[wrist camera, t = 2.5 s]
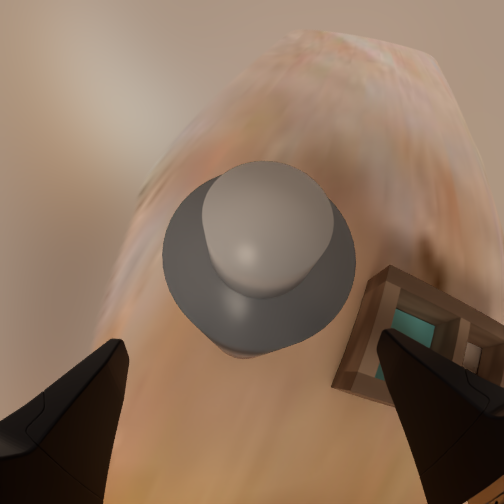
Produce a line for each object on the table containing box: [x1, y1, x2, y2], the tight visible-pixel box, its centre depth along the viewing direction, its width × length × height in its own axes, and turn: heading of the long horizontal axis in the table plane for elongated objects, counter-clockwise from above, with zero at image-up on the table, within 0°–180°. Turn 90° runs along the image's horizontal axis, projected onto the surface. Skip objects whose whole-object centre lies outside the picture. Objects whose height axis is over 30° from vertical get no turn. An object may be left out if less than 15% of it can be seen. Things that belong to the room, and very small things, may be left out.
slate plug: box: [162, 161, 356, 359], centre depth 12 cm, size 5×5×15 cm
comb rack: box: [331, 265, 504, 407], centre depth 16 cm, size 8×16×4 cm, turn 66°
